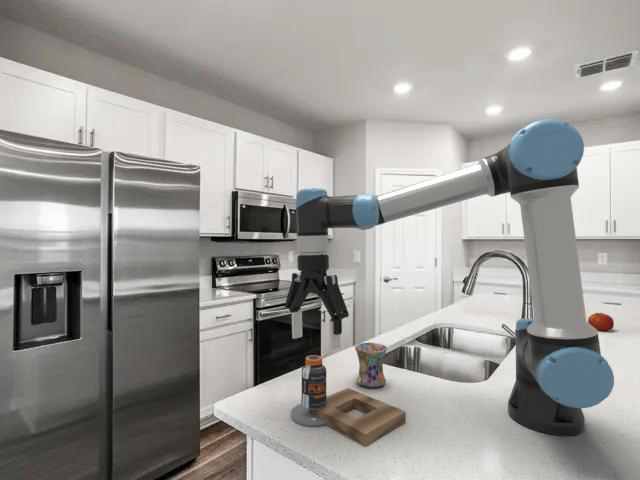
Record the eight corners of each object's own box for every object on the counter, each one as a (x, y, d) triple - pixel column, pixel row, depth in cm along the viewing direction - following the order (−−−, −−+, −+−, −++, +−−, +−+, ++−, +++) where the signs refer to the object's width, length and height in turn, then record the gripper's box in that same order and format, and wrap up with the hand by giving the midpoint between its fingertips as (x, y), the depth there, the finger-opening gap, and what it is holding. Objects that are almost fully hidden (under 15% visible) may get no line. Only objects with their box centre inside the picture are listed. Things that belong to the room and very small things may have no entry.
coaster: (346, 415, 86) (346, 412, 86) (311, 432, 78) (311, 429, 78) (315, 400, 94) (315, 397, 94) (281, 414, 86) (281, 411, 86)
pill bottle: (308, 412, 82) (307, 363, 82) (297, 402, 87) (297, 355, 87) (330, 406, 85) (330, 358, 85) (319, 397, 90) (318, 351, 90)
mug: (393, 386, 102) (393, 349, 102) (365, 392, 98) (365, 353, 98) (371, 372, 113) (371, 338, 113) (345, 377, 110) (345, 342, 109)
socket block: (405, 422, 82) (405, 411, 82) (365, 446, 73) (365, 434, 73) (348, 397, 95) (348, 387, 95) (308, 414, 86) (308, 404, 86)
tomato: (582, 328, 167) (582, 310, 167) (600, 327, 168) (600, 310, 168) (600, 333, 158) (600, 315, 158) (619, 332, 159) (619, 314, 159)
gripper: (362, 253, 79) (365, 349, 79) (293, 252, 98) (295, 330, 98) (339, 255, 74) (341, 357, 74) (270, 254, 93) (272, 336, 93)
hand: (315, 342), depth 86 cm, fingers open, 13 cm apart
